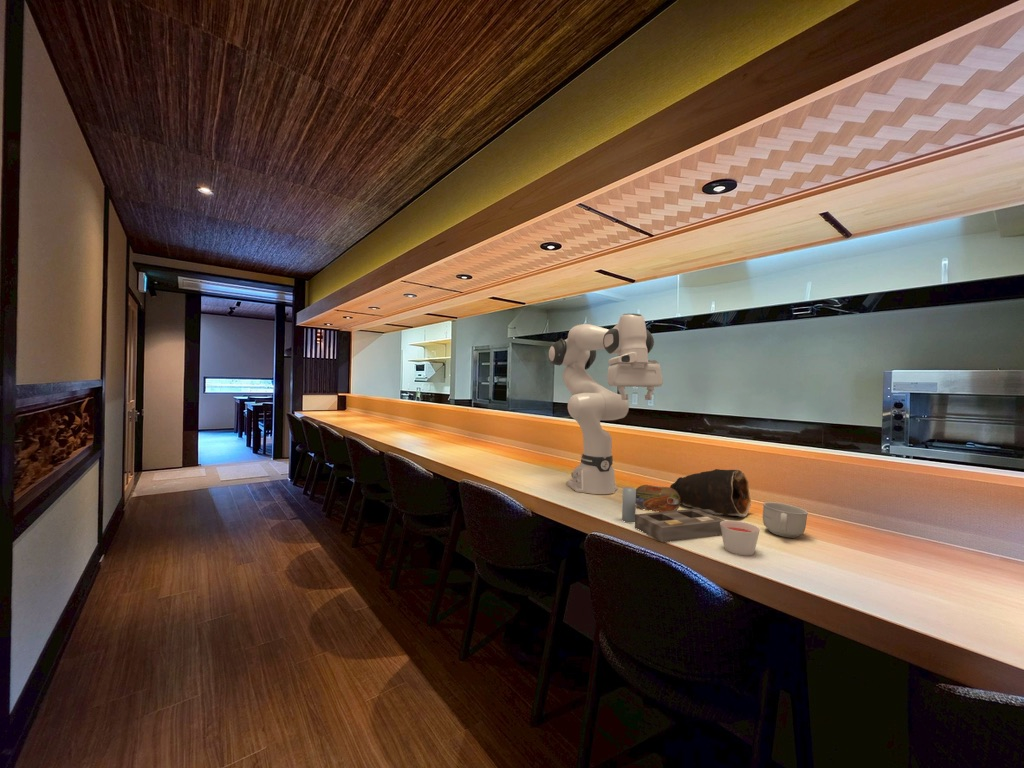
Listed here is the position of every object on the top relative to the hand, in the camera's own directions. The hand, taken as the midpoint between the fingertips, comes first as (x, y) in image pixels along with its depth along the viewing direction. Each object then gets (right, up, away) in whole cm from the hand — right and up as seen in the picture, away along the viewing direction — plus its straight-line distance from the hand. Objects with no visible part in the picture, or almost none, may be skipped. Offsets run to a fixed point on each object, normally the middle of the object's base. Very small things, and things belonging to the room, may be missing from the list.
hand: (636, 399), depth 141 cm
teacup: (+36, -38, -21) cm, 56 cm away
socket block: (+6, -37, -20) cm, 43 cm away
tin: (+7, -38, 0) cm, 38 cm away
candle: (+16, -38, -33) cm, 53 cm away
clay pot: (+25, -38, +3) cm, 46 cm away
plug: (-6, -37, -12) cm, 39 cm away
